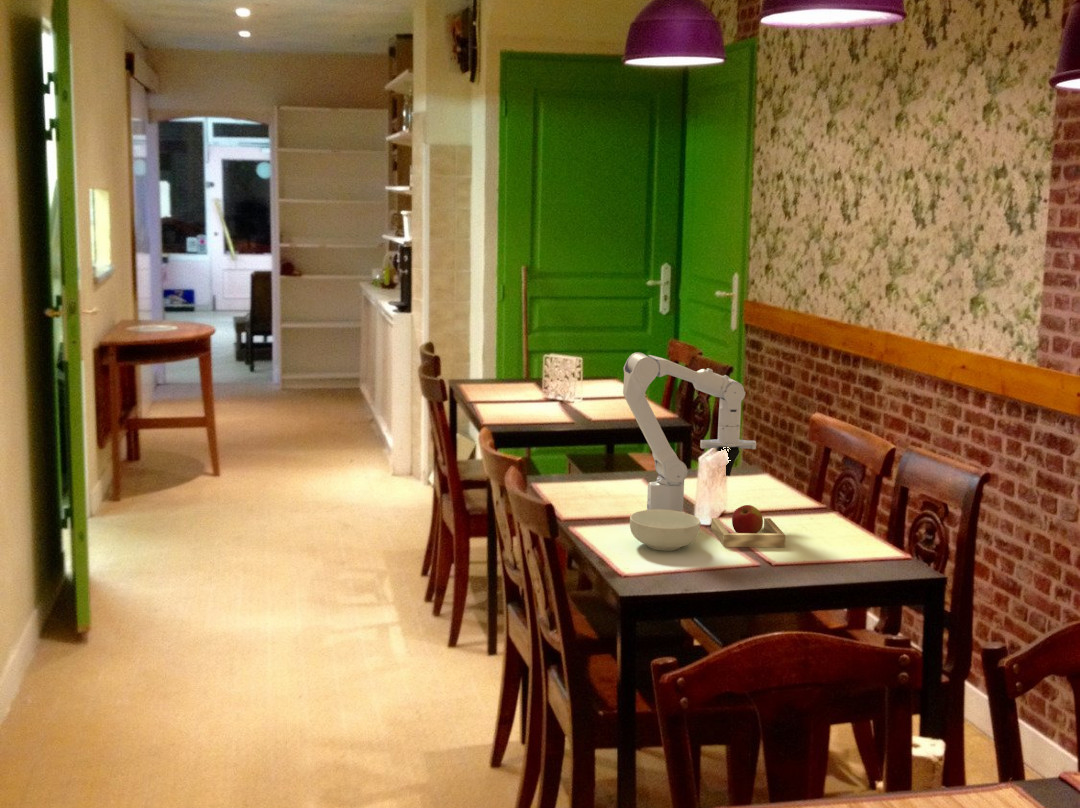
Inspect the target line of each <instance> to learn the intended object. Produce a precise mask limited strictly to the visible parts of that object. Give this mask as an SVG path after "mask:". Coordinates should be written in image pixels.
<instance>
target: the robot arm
mask: <svg viewBox="0 0 1080 808" xmlns="http://www.w3.org/2000/svg"><path fill="white" fill-rule="evenodd" d="M623 375H624V376H623V389H622V394H623V398H624V399H625V400H626V401H625V402H626V403H627V405H628V407H629V409H630V411H631V413H632V415H633V417H634V419H635V420H636V422H637V425H638V427H639V429H640V430H641V433H642V434H643V436H644V438H645V440H646V442H647V444H648V447H649V448H650V450H651V452H652V454H651V455H652V457H653V460H654V469H655V471H656V473H657V474H658V475H657V476H656V477H657V478H656V481H650V482H648V484H647V496H646V497H647V498H646V499H647V500H646V501H647V502H646V510H655V509H660V510H673V511H680V512H684V497H685V495H684V494H685V493H684V492H685V480H686V478H687V476H688V468H687V465H686V463H684V462H683V461H681V460H680V459H679V457H678V456H677V453H676V452H675V450H674V449H673V448H672V447H671V445H670V443H669V441H668V439H667V437H666V435H665V433H664V431H663V429H662V427H661V425H660V423H659V421H658V419H657V418H656V414H654V411H653V409H652V407H651V405H650V403H649V401H648V399H647V398H646V395H645V394H646V392H647V389H648V388H649V386H650V384H651V383H652V382H653V381H654V380H655V379H656V377H658V378H661V377H664V376H666V375H668V376H671V377H675V378H677V379H681V380H684V381H687V382H689V383H691V384H692V385H693V388H694V389H695V390H696V391H700V392H702V393H704V394H708V395H710V396H713V397H715V398H719V402H718V403H719V407H718V422H717V423H718V424H717V425H718V426H717V439H700V448H701V449H703V450H705V449H716V450H717V452H718V451H721V449H722V450H724V449H726V451H727V449H729V448H730V449H731V450H730V449H729V452H728V451H727V453H728V457H729V459H728V460H731V461H729V463H728V464H727V465H726V476H725V477H730V476H731V473H732V469H733V466H734V464H735V461H736V459H737V458H738V456H739V455H740V450H739V449H741V450H742V449H747V450H748V449H750V450H757V442H756V440H746V439H740V434H741V415H742V413H741V412H742V402H743V400H744V398H746V397H745V396H746V393H747V392H746V391H745V389H744V386H743V385H742V383H740V382H739V381H737V380H734V379H732V378H731V377H729V375H726V374H724V375H721V374H719V373H716V372H714V370H713V369H712V368H706V369H705V368H701V369H699V370H697V371H695V370H692V369H691V368H688V367H686V366H683V365H681V364H679V363H676V362H674V361H671V360H669V359H666V358H663V357H660V356H656V355H651V354H644V352H643V353H642V352H634V353H632V354H631V355H629V357H628V358H627V359H626V361H625V364H624V366H623ZM723 447H726V448H724V449H723ZM727 447H729V448H727Z"/></svg>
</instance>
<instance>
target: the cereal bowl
mask: <svg viewBox="0 0 1080 808" xmlns="http://www.w3.org/2000/svg"><path fill="white" fill-rule="evenodd" d="M629 529H630V532H631V534H632V536H633V537H634V538H635V539H636V540H637V541H639V542H640V543H642V544H644V545H647V548H650V549H652V550H657V551H663V552H667V551H668V552H669V551H676V550H679V549H680V548H683V547H686V546H688V545H690V544H692V543H693V542H694V541H695V540H696V539H697V538H698V536H699V533H700V529H701V519H700V518H699V517H697V516H695V515H693V514H690V513H689V512H688V513H687V512H684V511H683V512H680V511H673V510H660V509H655V510H647V509H644V510H639V511H636V512H633V513H632V514H630V516H629Z"/></svg>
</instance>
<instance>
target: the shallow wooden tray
mask: <svg viewBox="0 0 1080 808" xmlns="http://www.w3.org/2000/svg"><path fill="white" fill-rule="evenodd" d="M710 529H711V531H712V532H713V534H714V535H715V537H716V538H717V540H718V541H719V542H720V544H721V545H722V546H723V548H785V547H786V534H785V533H784V532H783V531H782V529H780V527H779V526H778V525H777V524H776V523H775V522H774V521H773V520H772V518H769V517H767V518H765V517H764V518H763V531H764V532H765V533H763V532H761V533H760V532H758V533H736V532H734V533H733V532H729V531H728V530H727V528H726V527H725V526H724V524H723V523H722V522H721V521H720V519H719V518H718V517H711V527H710Z"/></svg>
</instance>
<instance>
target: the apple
mask: <svg viewBox="0 0 1080 808" xmlns="http://www.w3.org/2000/svg"><path fill="white" fill-rule="evenodd" d="M731 525H732V528H733V530H734V531H735V533H760V531H762V530H763V529H762V528H763V527H764V518H763V515H762V513H761V511H760V510H759V509H758V508H757V507H756V506H754V505H750V504H746V505H741V506H739V507H738V508H736V509H735V510H734V511H733V513H732V516H731Z"/></svg>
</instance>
